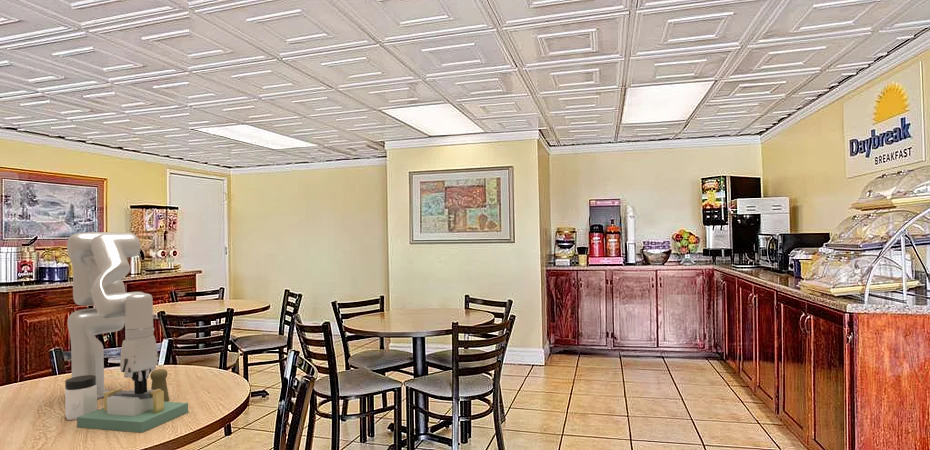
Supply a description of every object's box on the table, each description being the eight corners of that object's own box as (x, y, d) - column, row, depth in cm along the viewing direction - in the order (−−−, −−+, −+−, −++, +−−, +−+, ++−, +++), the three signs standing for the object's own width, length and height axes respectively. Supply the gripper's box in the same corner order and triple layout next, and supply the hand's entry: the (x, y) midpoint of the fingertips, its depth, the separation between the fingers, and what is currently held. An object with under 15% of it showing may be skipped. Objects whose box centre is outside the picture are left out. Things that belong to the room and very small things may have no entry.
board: (77, 427, 164) (76, 399, 164) (128, 408, 181) (127, 382, 181) (141, 432, 158) (141, 403, 158) (188, 412, 175) (187, 385, 175)
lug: (150, 412, 166) (150, 391, 166) (158, 409, 169) (158, 388, 169) (156, 413, 165) (155, 391, 166) (164, 410, 168) (163, 389, 168)
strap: (114, 397, 169) (114, 391, 169) (123, 394, 172) (123, 388, 172) (149, 398, 166) (149, 392, 166) (157, 395, 169) (157, 389, 169)
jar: (59, 421, 170) (58, 382, 170) (71, 413, 178) (71, 376, 178) (91, 418, 172) (90, 380, 172) (102, 410, 180) (101, 374, 180)
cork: (160, 404, 184) (159, 372, 184) (145, 404, 185) (144, 371, 185) (173, 399, 190) (172, 367, 190) (158, 398, 191) (157, 367, 191)
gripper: (149, 329, 177) (150, 385, 177) (108, 338, 163) (109, 399, 162) (168, 329, 175) (169, 386, 175) (128, 338, 161) (130, 400, 160)
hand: (140, 392), depth 169 cm, fingers closed
